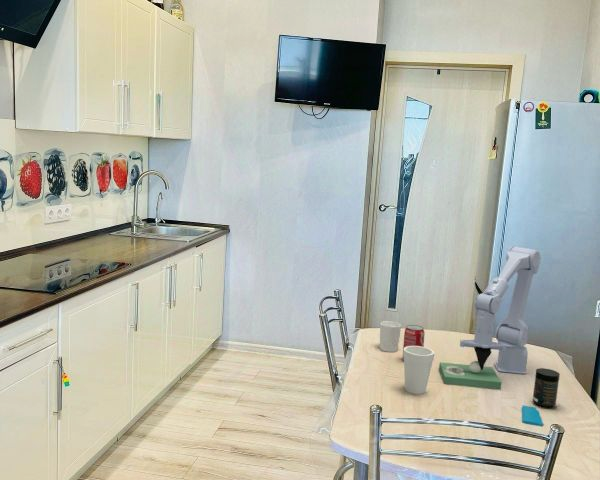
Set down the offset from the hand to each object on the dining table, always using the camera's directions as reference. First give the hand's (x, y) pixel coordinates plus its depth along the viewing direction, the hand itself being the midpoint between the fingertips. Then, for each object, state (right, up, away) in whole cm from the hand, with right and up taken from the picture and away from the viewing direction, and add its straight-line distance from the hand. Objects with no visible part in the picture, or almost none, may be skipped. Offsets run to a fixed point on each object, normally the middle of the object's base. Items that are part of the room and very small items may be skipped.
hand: (480, 369), depth 197 cm
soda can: (-20, -1, +15) cm, 25 cm away
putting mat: (-3, -4, +1) cm, 5 cm away
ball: (-1, +1, 0) cm, 2 cm away
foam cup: (-24, -4, -12) cm, 27 cm away
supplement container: (+15, -7, -17) cm, 23 cm away
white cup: (-27, +1, +28) cm, 38 cm away
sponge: (+7, -9, -26) cm, 28 cm away
